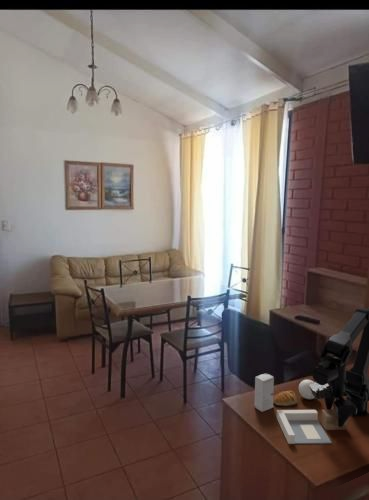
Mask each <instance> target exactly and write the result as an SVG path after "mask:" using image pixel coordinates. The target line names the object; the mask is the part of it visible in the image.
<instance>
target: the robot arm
mask: <svg viewBox="0 0 369 500" xmlns="http://www.w3.org/2000/svg"><path fill="white" fill-rule="evenodd" d="M361 332H362V333H361ZM360 334H361V337H360V340H359V344H358V348H357V351H356V354H355V358H354V361H353V365H352V367H351V368H350V369H347V363H348V362H350V357H351V355H352V352H353V351H354V345H353V343H354V342H355V340H356V339H357V338H358V336H359V335H360ZM319 359H320V360H322V361H323V362H319V363H318V364H317V366H315V367H314V368H313V370H312V371H311V377H312V378H313V380H314V383H312V384H310V385H309V386H310V389H311V392H312V394H313V395H314V397H315V398H314V399H316V400H319V399H321V400H323V399H324V400H323V401H324V404H325V406H326V407H325V408H326V410H335V412H336V413H337V419H338V426H339V427H342V426H343V425H344V423H345V422H346V421H347V422H348V419H349V418H350V417H351V416H369V412H368V404H369V403H368V402H369V374H368V370H369V307H368V306H367V307H366V308H362V307H358V308H356V309H355V312H354V314H353V316H351V318H350V320H348V322H347V323H346V324H345V326H344V327H343V328H342V330H341V331H340V332H338V333H335V334H333V335H332V336H331V337H330V338H329V339H328V340H326V341H325V344H324V346H323V348H322V351H321V353H320V355H319ZM344 397H345V398H344ZM332 408H333V409H332Z"/></svg>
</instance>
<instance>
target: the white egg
mask: <svg viewBox="0 0 369 500" xmlns="http://www.w3.org/2000/svg"><path fill="white" fill-rule="evenodd" d="M312 383H315V381H313V380H311V379H304V380H302V381H301V382H300V383H299V385H298V392H299V394H300V395H301V396H302V398H304V399H307V400H313V399H316V398H315V397H314V395H313V394H312V392H311V389H310V386H309V385H310V384H312Z"/></svg>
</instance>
